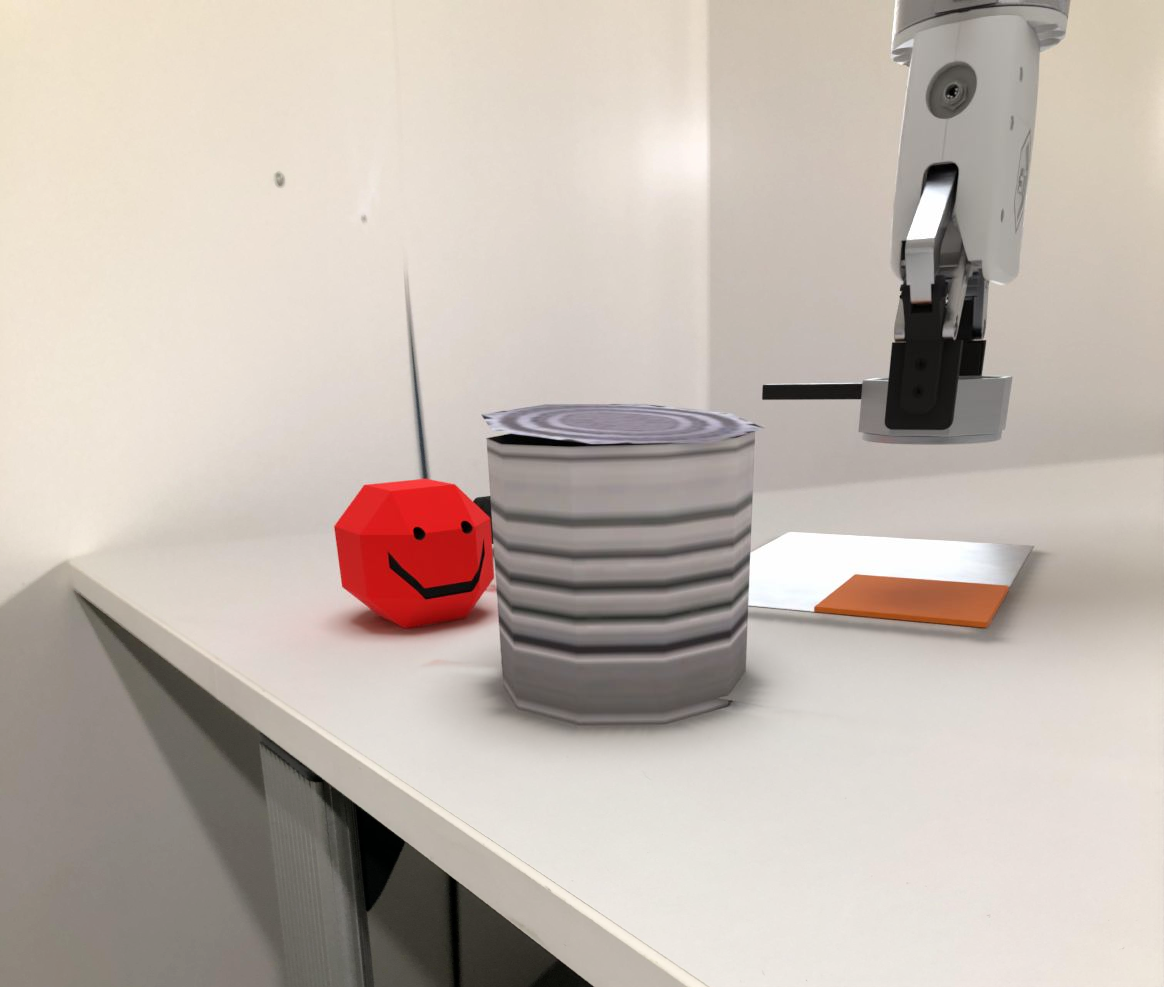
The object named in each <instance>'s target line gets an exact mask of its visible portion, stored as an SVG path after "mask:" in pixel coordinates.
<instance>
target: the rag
mask: <svg viewBox="0 0 1164 987" xmlns="http://www.w3.org/2000/svg"><path fill="white" fill-rule="evenodd" d="M1008 590H1009V591H1010V589H1009V586H1008V585H995V584H981V583H968V582H954V581H941V580H927V579H914V578H900V577H887V576H873V575H860V574H855V575H854V576H852V577H851V578H850V579H849V580H847V581H846V582H845V583H843V584H842V585H841V586H840V587H838V588H837V589H836V590H835V591H833V592H832V593H831V594H830V595H828V596H827V597H826V598H825V599H823V600H822V601H821V602H820V603H818V604H817V605H816V606H815V607H814V612H823V613H834V614H844V615H855V616H866V617H876V618H887V619H898V620H909V621H919V622H930V623H941V624H951V625H962V626H973V627H983V628H988V627H989V626H990V624H991V622H992V620H993V619H994V617H995V615H996V614H995V612H996V611H997V612H998V610H999V608H1000V607H999V606H1001V605H1002V603H1003V601H1004V600H1003V599H1005V598H1006V596H1007V594H1008V593H1007V592H1009V591H1008ZM1006 593H1007V594H1006ZM1005 595H1006V596H1005ZM1004 597H1005V598H1004ZM1002 600H1003V601H1002ZM1001 602H1002V603H1001ZM1000 604H1001V605H1000ZM998 607H999V608H998ZM997 609H998V610H997ZM997 612H996V613H997ZM823 613H822V614H823ZM994 614H995V615H994ZM844 615H843V616H844ZM855 616H854V617H855ZM993 616H994V617H993ZM876 618H875V619H876ZM992 618H993V619H992ZM887 619H886V620H887ZM991 619H992V620H991ZM990 621H991V622H990ZM919 622H918V623H919ZM989 623H990V624H989ZM988 625H989V626H988ZM987 626H988V627H987Z"/></svg>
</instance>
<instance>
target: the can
mask: <svg viewBox="0 0 1164 987" xmlns="http://www.w3.org/2000/svg"><path fill="white" fill-rule="evenodd" d="M481 417H482V419H483V420H484V422H485V423H486V424H487V426H488V427H489V429H490V430H491V432H496V433H497V432H498V433H503V434H501V435H495V436H491V437H486V438H485V439H486V452H487V454H486V455H487V468H488V483H489V496H490V498H491V513H492V528H493V543H494V544H493V554H494V555H493V559H494V569H495V570H494V573H495V582H496V583H495V586H496V601H497V616H498V629H499V630H498V631H499V645H500V646H499V647H500V660H501V673H502V675H501V676H502V686H503V688H504V690H505V691H506V693H507V694H508V696H509V697H510V699H511V700H512V702H513V704H514V706H515V707H516V709H517V710H519V711H523V712H527V713H531V714H535V715H539V716H542V717H545V718H550V719H554V720H558V721H562V722H565V723H569V724H573V725H577V726H645V725H646V726H649V725H653V726H656V725H657V726H659V725H668V724H672V723H674V722H678V721H681V720H685V719H689V718H693V717H697V716H700V715H704V714H707V713H711V712H714V711H718V710H721V709H726V708H729V706H730V705H731V704H732V701H734V700H732V699H726V698H723V697H728V696H729V695H730V694H731V693H732V691H733V690H734V688H735V687H736V686H737V684H738V683H739V681H740V680H741V679H742V678H743V676H744V674H745V673H746V671H747V649H748V648H747V646H748V624H749V623H748V620H749V607H748V600H749V575H750V553H751V551H752V550H751V548H752V522H753V501H754V500H753V495H754V473H755V450H756V449H755V446H756V432H758V431H762V430H765V429H766V427H763V426H761V425H758V424H756V423H754V422H752V421H749V420H747V419H744V418H742V417H741V416H738V415H735V414H734V413H731V412H723V411H713V410H705V409H704V410H703V409H694V408H684V407H675V406H667V405H665V406H664V405H655V404H647V403H646V404H645V403H595V404H594V403H588V404H587V403H578V404H577V403H575V404H574V403H569V404H568V403H567V404H566V403H565V404H564V403H563V404H562V403H561V404H560V403H559V404H557V403H553V404H551V403H550V404H547V403H546V404H538V405H533V406H526V407H519V408H516V409H515V408H514V409H507V410H501V411H494V412H488V413H483V414H482V413H481Z"/></svg>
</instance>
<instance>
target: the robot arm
mask: <svg viewBox="0 0 1164 987" xmlns="http://www.w3.org/2000/svg"><path fill="white" fill-rule="evenodd" d="M1070 7H1071V0H895V2H894V14H893V26H892V37H891V47H890V48H891V49H890V59H891V60H893V62H895V63H896V64H898V65H901V66H906V67H908V68H909V69H908V77H907V82H906V86H905V91H904V94H905V99H904V107H903V113H902V120H901V129H900V137H899V147H898V158H897V163H896V164H897V165H896V174H895V182H894V183H895V185H894V194H893V205H892V217H891V232H890V254H889V255H890V258H889V259H890V261H889V262H890V270H891V273H892V275H893V276H894V277H895V278H896V279H897V280H898V281H899V282H901V283H902V284H900V286H899V292H900V295H899V301H898V305H897V310H896V314H895V315H896V316H895V321H894V327H893V340H894V342H892V341H891V349H890V360H889V370H888V378H889V380H888V391H887V401H886V411H885V426H886V427H887V428H888V429H891V430H945V429H947V428H949V427H950V426H951V425H952V424H953V419H954V411H955V403H956V395H957V387H958V379H959V376H983V371H984V362H985V355H986V347H987V339H985V335H986V330H987V320H988V306H989V305H988V302H989V289H990V282H991V283H993V284H996V285H1000V286H1008V285H1009V284H1011V283H1012V282H1013V281H1014V280H1015V279H1016V278H1017V277H1018V276H1019V273H1020V272H1019V271H1020V264H1021V256H1022V247H1023V246H1022V244H1023V235H1024V226H1025V217H1026V207H1027V199H1028V192H1029V190H1028V189H1029V182H1030V174H1031V166H1032V157H1033V147H1034V138H1035V128H1036V119H1037V108H1038V97H1039V96H1038V94H1039V81H1040V80H1039V79H1040V58H1041V57H1040V55H1041V54H1040V53H1042V52H1044V51H1047V50H1050V49H1051V48H1054V47H1055V46H1057V45H1058V44H1060V42H1062V41H1063V40H1064V39H1065V37H1066V34H1067V26H1068V19H1069V14H1070Z"/></svg>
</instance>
